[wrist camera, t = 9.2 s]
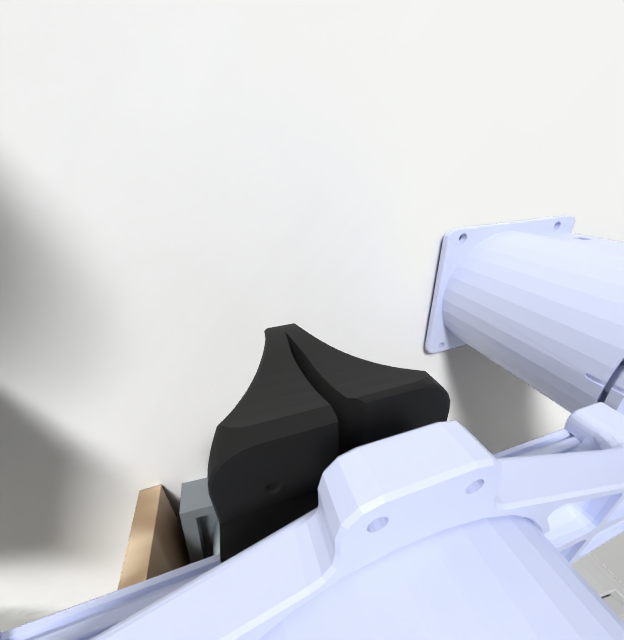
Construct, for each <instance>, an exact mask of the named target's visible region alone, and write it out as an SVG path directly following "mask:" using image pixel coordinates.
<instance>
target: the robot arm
mask: <svg viewBox="0 0 624 640" xmlns="http://www.w3.org/2000/svg"><path fill="white" fill-rule="evenodd" d="M574 223H575V218H574V216H569V215H563V216H555V217H546V218H538V219H529V220H521V221H513V222H504V223H496V224H487V225H479V226H471V227H462V228H454V229H450V230H449V231H447V232H446V234H445V235H444V238H443V243H442V249H441V255H440V261H439V267H438V273H437V279H436V284H435V290H434V296H433V302H432V308H431V314H430V320H429V325H428V331H427V337H426V343H425V349H426V350H427V351H428V352H429V353H436V352H440V351H444V350H448V349H452V348H456V347H460V346H464V345H469V346H471V347H472V348H474V349H475V350H477V351H478V352H480V353H481V354H483V355H484V356H486V357H487V358H489V359H490V360H492V361H493V362H495V363H496V364H498V365H499V366H501V367H502V368H504V369H505V370H507V371H508V372H510V373H511V374H513V375H514V376H516V377H518V378H519V379H521V380H522V381H524V382H525V383H527V384H528V385H530V386H531V387H533V388H534V389H536V390H537V391H539V392H540V393H542V394H543V395H545V396H546V397H548V398H549V399H551V400H552V401H554V402H555V403H557V404H558V405H560V406H561V407H563V408H564V409H566V410H568V411H569V412H571V413H572V414H571V415H570V416H569V418H568V419H567V421H566V423H565V428H564V429H562V430H559V431H556V432H553V433H551V434H548V435H545V436H542V437H540V438H537V439H534V440H531V441H529V442H526V443H523V444H520V445H517V446H515V447H512V448H509V449H506V450H504V451H501V452H498V453H495V454H493V455H492V454H491V453H490V452H489V451H488V450H487V449H486V448H485V447H484V446H483V445H482V444H481V443H480V442H479V441H478V440H477V439H476V438H475V437H474V436H473V435H472V434H471V433H470V432H469V431H468V430H467V429H466V428H465V427H464V426H463V425H461V424H460V423H458V422H457V421H447V417H448V413H449V408H450V398H449V394H448V393H447V391H446V390H445V389H444V388H443V387H442V386H441V385H440V384H439V383H438V382H437V381H436V380H434V379H433V378H432V377H431V376H430V375H429V374H428V373H427V372H426V371H419V370H411V369H402V368H396V367H391V366H386V365H381V364H377V363H373V362H370V361H366V360H363V359H360V358H357V357H354V356H351V355H349V354H347V353H344V352H342V351H339V350H337V349H335V348H333V347H331V346H329V345H327V344H326V343H324V342H322V341H320V340H319V339H317V338H315V337H314V336H312V335H311V334H309V333H308V332H306V331H305V330H303V329H302V328H300V327H299V326H297V325H296V324H288V325H283V326H277V327H272V328H267V329H266V330H265V331H264V332H265V338H266V339H265V347H264V352H263V356H262V359H261V362H260V365H259V368H258V370H257V373H256V375H255V377H254V379H253V381H252V383H251V384H250V386H249V388H248V390H247V391H246V393H245V394H244V396H243V397H242V399H241V400H240V401H239V403H238V404H237V405H236V407H235V408H234V409H233V410H232V412H231V413H230V414H229V415H228V416H227V417H226V418H225V419H224V420H223V421H222V422H221V423H220V424H219V425H218V426H217V429H216V432H215V435H214V439H213V442H212V446H211V451H210V456H209V463H208V492H209V496H210V499H211V502H212V504H213V507H214V510H215V513H216V515H217V518H218V521H219V525H220V554H217V555H214V556H211V557H209V558H206V559H203V560H200V561H198V562H195V563H192V564H189V565H186V566H184V567H181V568H178V569H175V570H173V571H170V572H167V573H164V574H162V575H159V576H156V577H153V578H151V579H148V580H145V581H142V582H140V583H137V584H134V585H131V586H129V587H126V588H123V589H120V590H118V591H115V592H112V593H109V594H106V595H104V596H101V597H98V598H95V599H93V600H90V601H87V602H84V603H82V604H79V605H76V606H73V607H71V608H68V609H65V610H62V611H60V612H57V613H54V614H51V615H49V616H46V617H43V618H40V619H38V620H35V621H32V622H29V623H27V624H24V625H21V626H18V627H16V628H13V629H10V630H7V631H4V632H1V631H0V640H624V622H623V621H622V620H621V619H620V618H619V616H618V615H617V614H616V613H615V612H614V611H613V610H612V609H611V608H610V607H609V606H608V604H607V603H606V602H605V601H604V600H603V599H602V598H601V597H600V596H599V595H598V593H597V592H596V591H595V590H594V589H593V588H592V587H591V586H590V585H589V584H588V583H587V581H586V580H585V579H584V578H583V577H582V576H581V575H580V574H579V573H578V572H577V571H576V569H575V568H574V567H573V566H572V565H571V564H573V563H574V562H576V561H577V560H579V559H581V558H582V557H584V556H585V555H587V554H588V553H590V552H592V551H593V550H595V549H596V548H598V547H599V546H601V545H603V544H604V543H606V542H608V541H609V540H611V539H613V538H614V537H616V536H617V535H619V534H621V533H623V532H624V242H623V241H616V240H610V239H604V238H598V237H592V236H586V235H579V234H573V233H571V231H572V229H573V226H574ZM461 234H462V237H461V239H460V240H459V237H460V236H461Z"/></svg>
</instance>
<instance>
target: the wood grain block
mask: <svg viewBox="0 0 624 640" xmlns="http://www.w3.org/2000/svg"><path fill="white" fill-rule="evenodd" d="M189 564H191V562H190V558H189V553H188V549H187V545H186V540H185V536H184V532H183V529H182V527H181V525H180V523H179V521H178V519H177V517H176V515H175V512H174V510H173V508H172V506H171V504H170V502H169V500H168V498H167V496H166V494H165V492H164V489H163V487H162V485H158V486H155V487H152V488H148V489H145V490H142V491H140V492H139V496H138V501H137V505H136V510H135V514H134V519H133V523H132V527H131V532H130V536H129V541H128V545H127V550H126V554H125V559H124V563H123V568H122V572H121V577H120V581H119V586H118V590H120V589H123V588H126V587H129V586H131V585H134V584H137V583H140V582H142V581H145V580H148V579H151V578H153V577H156V576H159V575H162V574H164V573H167V572H170V571H173V570H175V569H178V568H181V567H184V566H186V565H189ZM118 590H117V591H118Z"/></svg>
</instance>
